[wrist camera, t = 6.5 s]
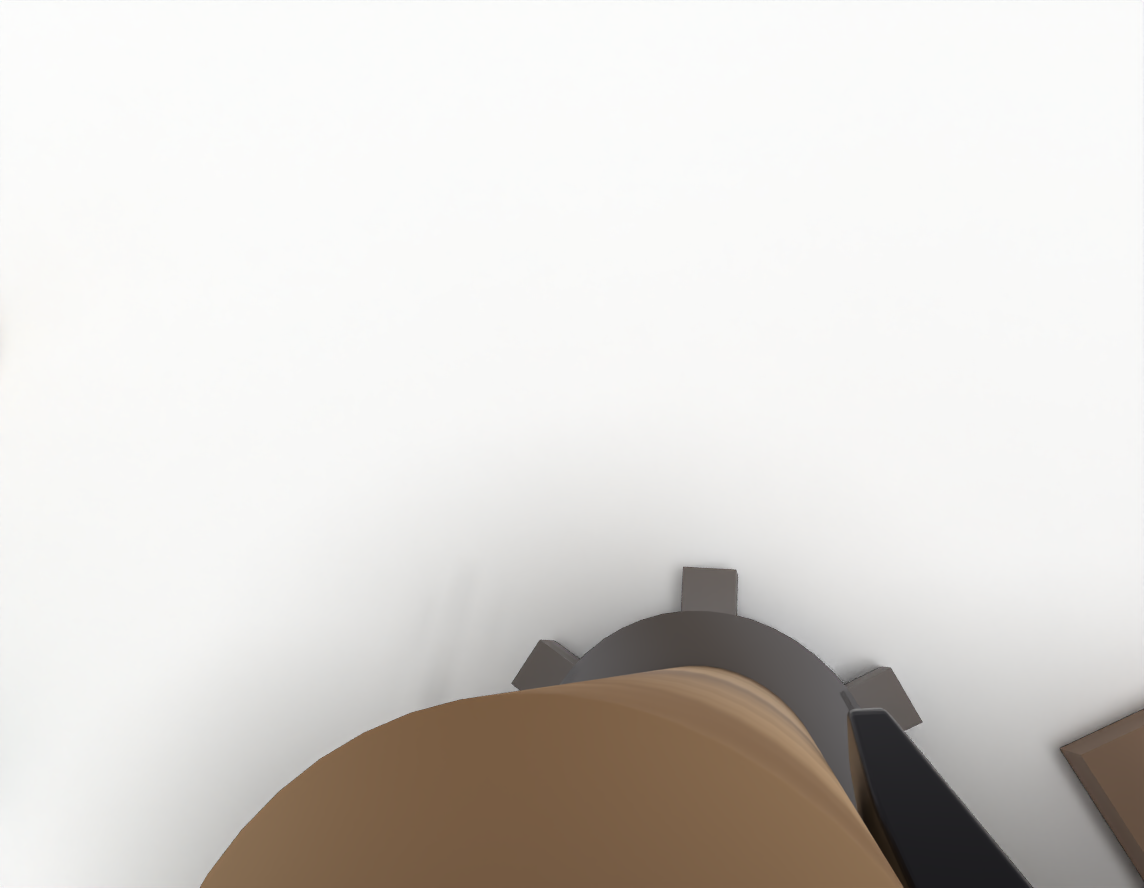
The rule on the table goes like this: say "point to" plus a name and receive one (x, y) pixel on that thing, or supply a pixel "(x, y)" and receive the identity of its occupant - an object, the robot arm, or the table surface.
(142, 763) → the table surface
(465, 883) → the gear spindle
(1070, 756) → the gear board
